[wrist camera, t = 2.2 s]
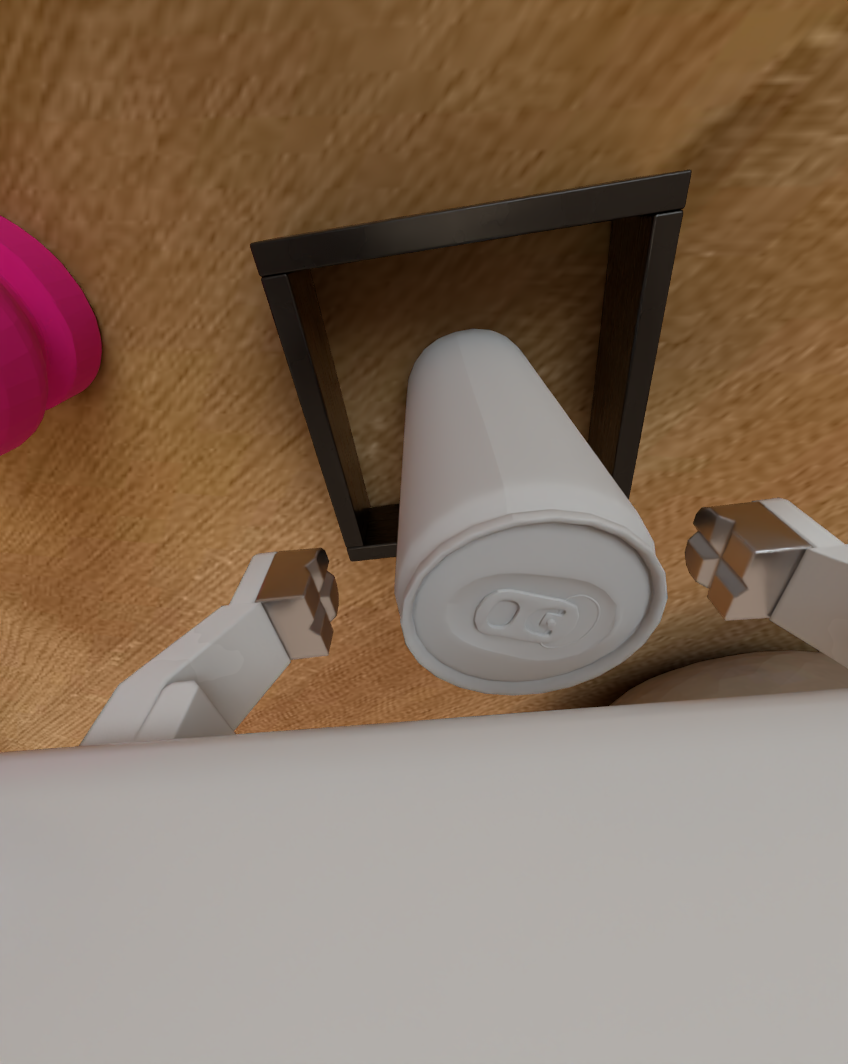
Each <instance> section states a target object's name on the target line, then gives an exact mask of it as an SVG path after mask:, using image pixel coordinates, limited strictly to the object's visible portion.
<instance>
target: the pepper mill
mask: <svg viewBox="0 0 848 1064" xmlns="http://www.w3.org/2000/svg"><path fill="white" fill-rule="evenodd" d="M101 354H102V343H101V336H100V332H99V328H98V324H97V321H96V317H95V315H94V313H93V311H92V309H91V307H90V305H89V303H88V301H87V299H86V297H85V295H84V293H83V291H82V289H81V288H80V287H79V285H78V284H77V283H76V281H75V280H74V279H73V277H72V276H71V275H70V273H69V272H68V271H67V270H66V268H65V267H64V266H63V264H62V263H61V262H60V261H59V260H58V259H57V258H56V257H55V256H54V255H53V254H52V253H51V252H50V251H49V250H48V249H46V248H45V247H44V246H43V245H42V244H41V243H40V242H39V241H38V240H36V239H35V238H34V237H32V236H31V235H30V234H28V233H27V232H26V231H24V230H23V229H22V228H20V227H19V226H17V225H15V224H14V223H12V222H11V221H9V220H7V219H6V218H4V217H2V216H0V456H1V455H3V454H5V453H7V452H9V451H11V450H13V449H15V448H17V447H18V446H20V445H21V444H22V443H24V442H25V441H26V440H27V439H28V438H29V437H30V436H31V435H32V434H33V433H34V432H35V431H36V429H37V428H38V426H39V424H40V423H41V421H42V419H43V416H44V414H45V410H48V409H50V408H52V407H54V406H56V405H58V404H60V403H62V402H64V401H65V400H67V399H69V398H71V397H73V396H75V395H76V394H78V393H80V392H82V391H83V390H84V389H86V388H87V387H88V386H89V385H90V384H91V383H92V381H93V380H94V379H95V377H96V375H97V373H98V370H99V367H100V363H101Z"/></svg>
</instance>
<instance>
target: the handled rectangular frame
mask: <svg viewBox="0 0 848 1064" xmlns="http://www.w3.org/2000/svg"><path fill="white" fill-rule="evenodd" d="M690 177H691V170H683V171H676V172H669V173H662V174H655V175H649V176H642V177H636V178H630V179H624V180H618V181H612V182H606V183H600V184H594V185H588V186H582V187H576V188H570V189H564V190H558V191H552V192H546V193H540V194H534V195H528V196H522V197H516V198H511V199H505V200H499V201H493V202H487V203H481V204H475V205H469V206H463V207H457V208H451V209H445V210H439V211H433V212H427V213H421V214H415V215H409V216H403V217H397V218H391V219H385V220H379V221H373V222H367V223H361V224H355V225H349V226H343V227H338V228H332V229H326V230H320V231H314V232H308V233H302V234H296V235H290V236H284V237H278V238H273V239H268V240H263V241H258V242H253V243H251V244H250V248H251V251H252V254H253V257H254V260H255V263H256V266H257V270H258V273H259V275H260V276H261V277H262V278H261V281H262V284H263V288H264V291H265V294H266V297H267V300H268V303H269V306H270V310H271V313H272V316H273V319H274V322H275V325H276V328H277V332H278V335H279V338H280V341H281V344H282V347H283V350H284V354H285V357H286V360H287V363H288V366H289V369H290V373H291V376H292V379H293V382H294V385H295V388H296V391H297V395H298V398H299V401H300V404H301V407H302V410H303V413H304V417H305V420H306V423H307V426H308V429H309V432H310V435H311V439H312V442H313V445H314V448H315V451H316V454H317V457H318V461H319V464H320V467H321V470H322V473H323V476H324V479H325V483H326V486H327V489H328V492H329V495H330V498H331V501H332V505H333V508H334V511H335V514H336V517H337V520H338V523H339V527H340V530H341V533H342V536H343V539H344V542H345V546H346V547H347V552H348V555H349V558H350V560H351V561H362V560H371V559H380V558H389V557H397V541H398V525H399V509H400V504H398V505H389V506H381V507H372V508H370V504H369V500H368V496H367V492H366V488H365V484H364V480H363V477H362V473H361V469H360V465H359V461H358V457H357V453H356V449H355V445H354V441H353V437H352V433H351V429H350V425H349V421H348V418H347V414H346V410H345V406H344V402H343V398H342V394H341V390H340V386H339V382H338V378H337V374H336V370H335V366H334V362H333V358H332V355H331V351H330V347H329V343H328V339H327V335H326V331H325V327H324V323H323V319H322V315H321V311H320V307H319V303H318V299H317V295H316V292H315V288H314V284H313V280H312V276H311V272H310V269H313V268H320V267H326V266H332V265H338V264H344V263H351V262H357V261H363V260H369V259H375V258H382V257H388V256H394V255H400V254H407V253H413V252H419V251H425V250H431V249H438V248H444V247H450V246H456V245H462V244H469V243H475V242H481V241H487V240H493V239H500V238H506V237H512V236H518V235H524V234H531V233H537V232H543V231H549V230H555V229H562V228H568V227H574V226H580V225H586V224H593V223H599V222H605V221H611V220H613V223H612V232H611V241H610V250H609V259H608V268H607V277H606V286H605V295H604V304H603V314H602V323H601V332H600V341H599V350H598V359H597V368H596V377H595V386H594V395H593V404H592V413H591V422H590V431H589V440H588V445H589V446H590V447H591V449H592V450H593V451H594V453H595V454H596V456H597V457H598V458H599V460H600V461H601V463H602V464H603V465H604V467H605V468H606V469H607V471H608V472H609V474H610V475H611V476H612V478H613V479H614V481H615V482H616V483H617V485H618V486H619V487H620V489H621V490H622V492H623V493H624V494H625V496H626V497H627V499H628V500H629V495H630V490H631V485H632V480H633V474H634V469H635V464H636V459H637V453H638V448H639V443H640V438H641V432H642V427H643V422H644V417H645V411H646V406H647V401H648V396H649V390H650V385H651V380H652V374H653V369H654V364H655V359H656V353H657V348H658V343H659V338H660V332H661V327H662V322H663V317H664V311H665V306H666V301H667V296H668V290H669V285H670V280H671V275H672V269H673V264H674V259H675V253H676V248H677V243H678V238H679V232H680V227H681V222H682V217H683V210H681V209H683V208H684V207H685V204H686V198H687V193H688V188H689V183H690Z"/></svg>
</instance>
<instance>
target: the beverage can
mask: <svg viewBox="0 0 848 1064" xmlns="http://www.w3.org/2000/svg"><path fill="white" fill-rule="evenodd" d="M395 597H396V601H397V605H398V609H399V613H400V623H401V627H402V631H403V635H404V640H405V644H406V645H407V647H408V648H409V650H410V651H411V653H412V654H413V655H414V657H415V658H416V660H417V661H418V663H419V664H421V665H422V666H423V667H425V668H426V669H427V670H428V671H430V672H431V673H432V674H434V675H435V676H436V677H438V678H440V679H442V680H444V681H446V682H449V683H451V684H453V685H455V686H458V687H460V688H464V689H468V690H473V691H477V692H481V693H485V694H499V695H526V694H539V693H546V692H550V691H555V690H559V689H563V688H568V687H572V686H575V685H577V684H580V683H582V682H585V681H588V680H590V679H593V678H595V677H598V676H600V675H602V674H603V673H605V672H607V671H609V670H610V669H612V668H614V667H615V666H617V665H619V664H621V663H622V662H624V661H625V660H626V659H627V658H629V657H630V656H631V655H632V654H633V653H634V652H635V651H637V650H638V649H639V648H640V647H641V646H642V645H643V644H645V642H646V641H647V640H648V638H649V637H650V635H651V634H652V633H653V631H654V630H655V628H656V627H657V625H658V624H659V623H660V620H661V617H662V614H663V611H664V608H665V605H666V601H667V598H668V597H667V586H666V575H665V571H664V570H663V568H662V566H661V564H660V562H659V561H658V559H657V557H656V555H655V546H654V541H653V539H652V538H651V536H650V534H649V532H648V530H647V529H646V527H645V525H644V523H643V521H642V520H641V518H640V516H639V514H638V513H637V511H636V510H635V508H634V507H633V506H632V504H631V503H630V501H629V500H628V499H627V497H626V496H625V494H624V493H623V492H622V490H621V489H620V487H619V486H618V485H617V483H616V482H615V481H614V479H613V478H612V476H611V475H610V474H609V472H608V471H607V469H606V468H605V467H604V465H603V464H602V463H601V461H600V460H599V458H598V457H597V456H596V454H595V453H594V451H593V450H592V449H591V447H590V446H589V445H588V443H587V442H586V440H585V439H584V438H583V436H582V435H581V433H580V432H579V431H578V429H577V428H576V426H575V425H574V424H573V422H572V421H571V420H570V418H569V417H568V415H567V414H566V413H565V411H564V410H563V408H562V407H561V406H560V404H559V403H558V402H557V400H556V399H555V397H554V396H553V395H552V393H551V392H550V390H549V389H548V388H547V386H546V385H545V384H544V382H543V381H542V379H541V378H540V377H539V375H538V374H537V372H536V371H535V370H534V368H533V367H532V365H531V364H530V363H529V361H528V360H527V359H526V357H525V356H524V354H523V353H522V352H521V350H520V349H519V348H518V347H517V346H516V345H515V344H514V343H513V342H512V341H511V340H509V339H508V338H507V337H506V336H504V335H501V334H499V333H497V332H495V331H492V330H485V329H468V330H463V331H458V332H454V333H451V334H449V335H446V336H444V337H441V338H439V339H437V340H436V341H435V342H433V343H432V344H431V345H429V346H428V347H426V348H425V349H424V351H423V352H422V353H421V355H420V356H419V357H418V359H417V360H416V361H415V363H414V366H413V368H412V371H411V373H410V376H409V379H408V389H407V401H406V416H405V431H404V446H403V462H402V478H401V494H400V509H399V525H398V541H397V557H396V573H395Z"/></svg>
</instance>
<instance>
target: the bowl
mask: <svg viewBox="0 0 848 1064" xmlns="http://www.w3.org/2000/svg"><path fill="white" fill-rule="evenodd" d="M841 688H848V668H846V667H845V666H843V665H841V664H840V663H838V662H836V661H835V660H833V659H832V658H830V657H828V656H827V655H825V654H824V653H822V652H809V651H793V650H790V651H770V652H754V653H747V654H740V655H733V656H727V657H722V658H717V659H711V660H706V661H701V662H697V663H694V664H691V665H688V666H685V667H682V668H679V669H676V670H673V671H670V672H667V673H664V674H661V675H659V676H656V677H654V678H651V679H649V680H647V681H645V682H643V683H641V684H639V685H637V686H636V687H634V688H632V689H630V690H629V691H627V692H626V693H625V694H623V695H622V696H621V697H619V698H618V699H617V700H616V701H614V702H613V703H612V704H611V705H610V706H618V705H631V704H645V703H658V702H671V701H684V700H697V699H710V698H723V697H736V696H749V695H762V694H775V693H788V692H801V691H814V690H827V689H841Z"/></svg>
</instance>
